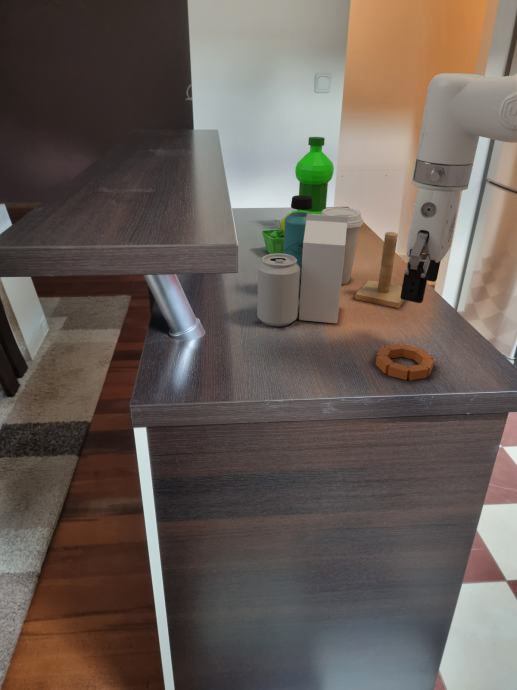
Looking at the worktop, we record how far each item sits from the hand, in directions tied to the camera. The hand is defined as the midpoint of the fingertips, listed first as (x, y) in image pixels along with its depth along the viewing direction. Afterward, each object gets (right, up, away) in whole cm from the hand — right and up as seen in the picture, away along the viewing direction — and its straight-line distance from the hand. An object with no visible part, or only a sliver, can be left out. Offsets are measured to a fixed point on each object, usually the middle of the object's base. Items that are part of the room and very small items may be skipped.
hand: (418, 289), depth 79 cm
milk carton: (-13, -3, +19) cm, 23 cm away
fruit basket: (-17, +15, +51) cm, 56 cm away
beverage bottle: (-17, +2, +28) cm, 33 cm away
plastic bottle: (-10, +24, +69) cm, 74 cm away
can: (-21, -4, +17) cm, 27 cm away
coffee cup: (-8, +6, +35) cm, 37 cm away
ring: (-2, -12, +3) cm, 12 cm away
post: (+1, +2, +27) cm, 27 cm away
